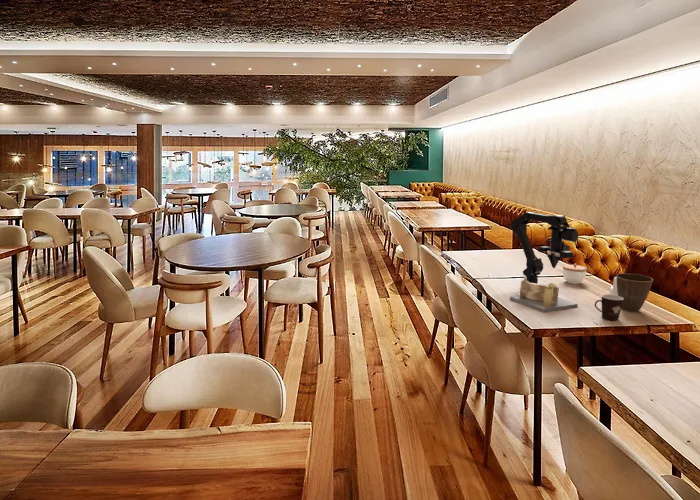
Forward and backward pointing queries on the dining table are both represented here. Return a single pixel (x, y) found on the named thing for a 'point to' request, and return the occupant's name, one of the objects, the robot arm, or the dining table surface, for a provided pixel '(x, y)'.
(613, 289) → the cream cylindrical piece
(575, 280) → the lidded bowl
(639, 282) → the plant pot
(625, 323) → the dining table surface
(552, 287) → the brass keeper
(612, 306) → the coffee mug
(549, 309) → the slate board
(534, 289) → the ash link
